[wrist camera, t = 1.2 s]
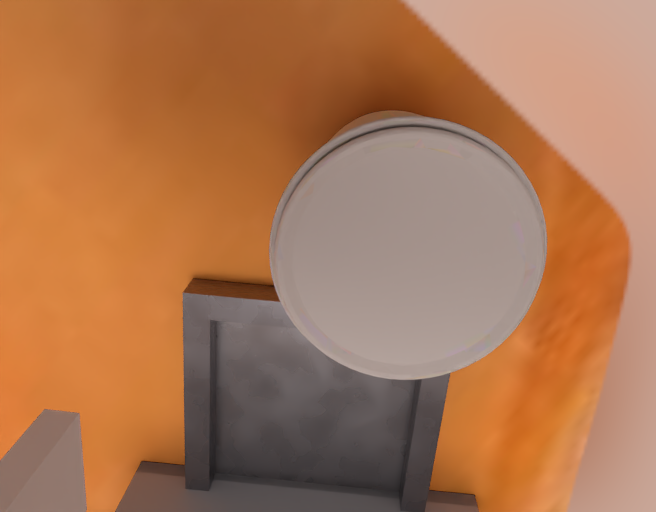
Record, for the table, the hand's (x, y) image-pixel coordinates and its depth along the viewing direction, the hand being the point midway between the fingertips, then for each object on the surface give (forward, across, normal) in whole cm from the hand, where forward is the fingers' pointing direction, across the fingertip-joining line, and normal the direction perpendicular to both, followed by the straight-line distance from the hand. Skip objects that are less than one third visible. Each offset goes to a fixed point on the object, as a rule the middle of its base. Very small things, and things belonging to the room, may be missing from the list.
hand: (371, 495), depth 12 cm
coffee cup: (+19, +1, +2) cm, 20 cm away
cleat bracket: (+19, -2, -12) cm, 22 cm away
